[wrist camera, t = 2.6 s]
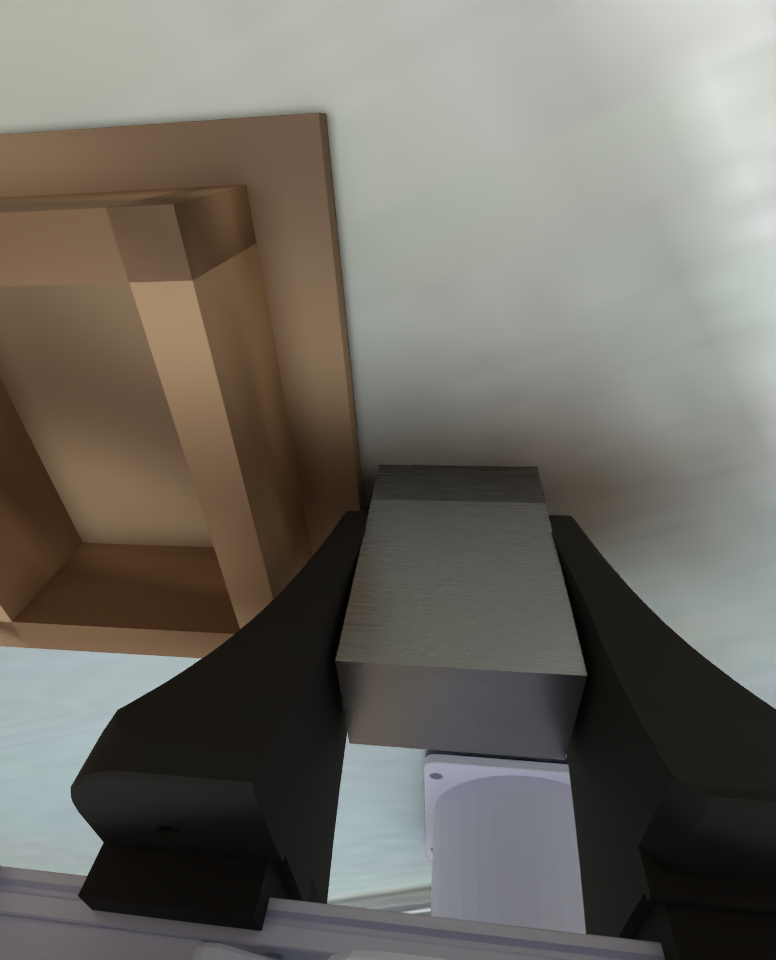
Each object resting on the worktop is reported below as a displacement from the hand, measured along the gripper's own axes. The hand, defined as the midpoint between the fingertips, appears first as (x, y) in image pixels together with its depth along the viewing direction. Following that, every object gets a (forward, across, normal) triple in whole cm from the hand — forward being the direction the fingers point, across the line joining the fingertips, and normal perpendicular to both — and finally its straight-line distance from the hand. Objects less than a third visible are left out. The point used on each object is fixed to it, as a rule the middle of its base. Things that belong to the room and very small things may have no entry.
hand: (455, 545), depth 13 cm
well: (+2, +8, -3) cm, 9 cm away
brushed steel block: (+2, 0, +2) cm, 2 cm away
